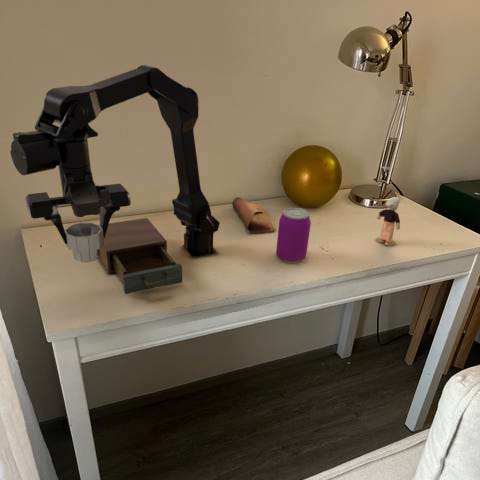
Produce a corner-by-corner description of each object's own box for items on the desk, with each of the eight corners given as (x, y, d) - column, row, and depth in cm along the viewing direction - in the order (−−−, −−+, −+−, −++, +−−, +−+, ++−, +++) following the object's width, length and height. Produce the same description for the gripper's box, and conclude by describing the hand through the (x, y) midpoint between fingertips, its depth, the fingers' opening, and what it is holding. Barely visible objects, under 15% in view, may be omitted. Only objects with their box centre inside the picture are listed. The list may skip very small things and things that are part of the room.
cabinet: (167, 262, 123) (166, 240, 119) (108, 274, 117) (106, 251, 114) (148, 238, 133) (146, 217, 130) (93, 247, 127) (90, 226, 124)
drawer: (189, 290, 111) (188, 273, 109) (130, 303, 106) (129, 286, 103) (162, 256, 124) (161, 240, 121) (108, 266, 118) (106, 250, 116)
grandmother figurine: (400, 244, 138) (411, 199, 130) (393, 248, 135) (404, 203, 128) (375, 234, 142) (385, 191, 134) (368, 238, 139) (377, 194, 132)
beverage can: (279, 265, 125) (284, 219, 118) (272, 250, 131) (276, 206, 124) (309, 263, 126) (316, 218, 119) (301, 249, 132) (306, 206, 125)
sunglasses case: (277, 229, 140) (266, 211, 136) (255, 243, 141) (244, 225, 136) (258, 205, 154) (248, 187, 150) (238, 217, 155) (228, 200, 151)
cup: (99, 245, 108) (96, 219, 105) (109, 261, 103) (106, 234, 100) (65, 251, 106) (61, 224, 102) (73, 267, 100) (69, 240, 97)
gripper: (27, 184, 84) (43, 266, 93) (136, 172, 91) (141, 249, 100) (18, 163, 92) (33, 241, 101) (119, 154, 99) (125, 227, 108)
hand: (84, 240), depth 102 cm, fingers closed on cup, 7 cm apart
